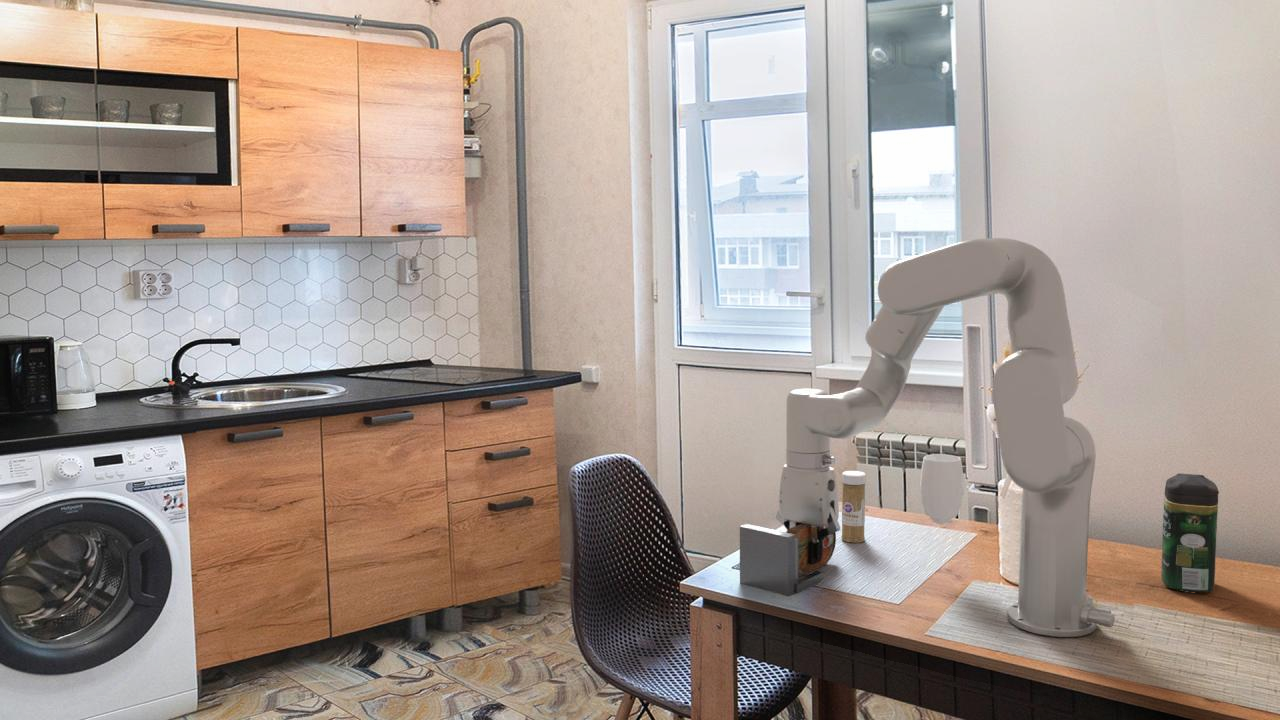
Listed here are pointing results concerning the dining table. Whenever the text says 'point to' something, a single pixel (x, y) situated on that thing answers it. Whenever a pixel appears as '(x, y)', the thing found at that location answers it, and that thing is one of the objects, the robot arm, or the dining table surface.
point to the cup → (941, 486)
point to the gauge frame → (771, 561)
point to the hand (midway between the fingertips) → (807, 559)
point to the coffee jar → (1189, 533)
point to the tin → (804, 539)
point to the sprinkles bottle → (853, 506)
